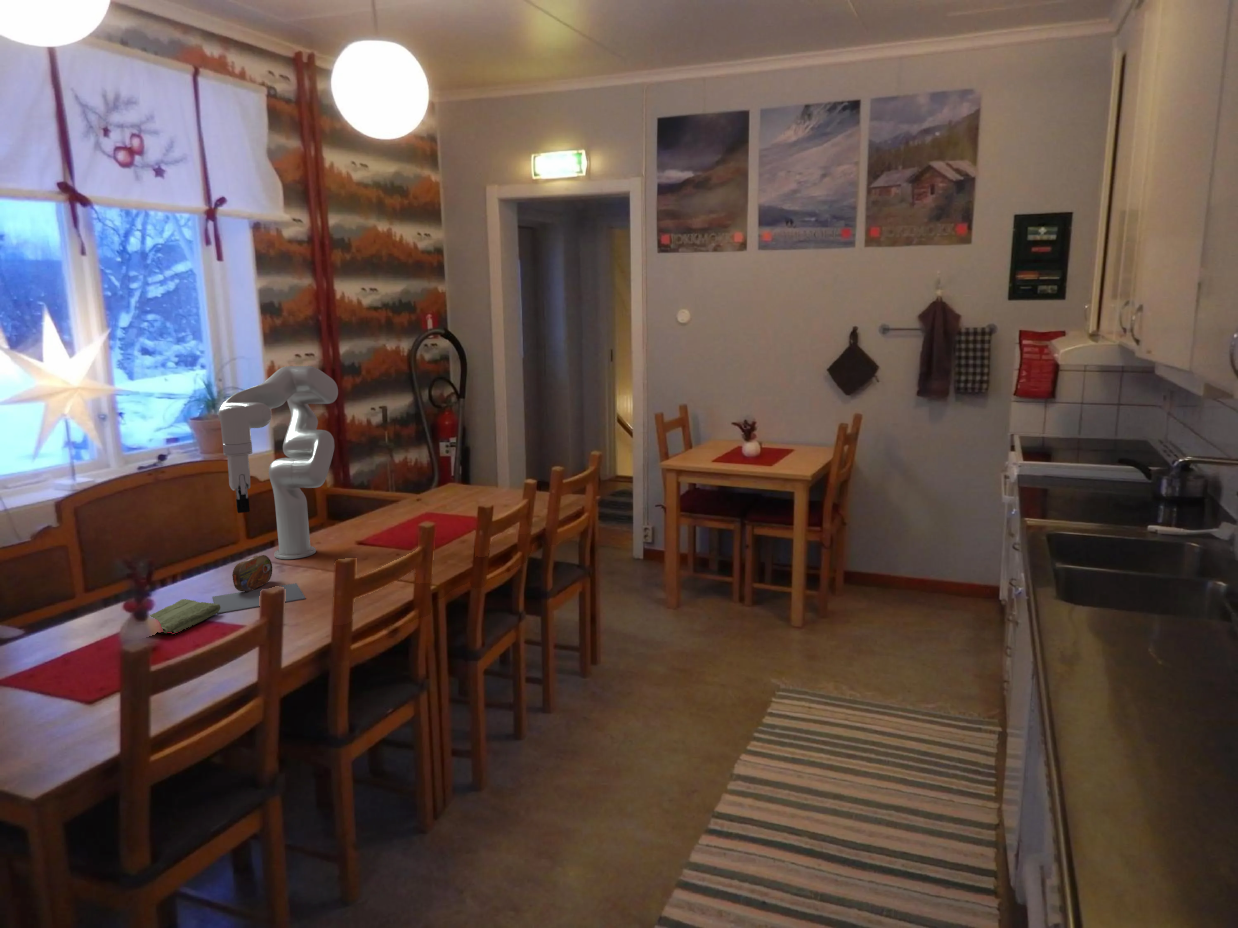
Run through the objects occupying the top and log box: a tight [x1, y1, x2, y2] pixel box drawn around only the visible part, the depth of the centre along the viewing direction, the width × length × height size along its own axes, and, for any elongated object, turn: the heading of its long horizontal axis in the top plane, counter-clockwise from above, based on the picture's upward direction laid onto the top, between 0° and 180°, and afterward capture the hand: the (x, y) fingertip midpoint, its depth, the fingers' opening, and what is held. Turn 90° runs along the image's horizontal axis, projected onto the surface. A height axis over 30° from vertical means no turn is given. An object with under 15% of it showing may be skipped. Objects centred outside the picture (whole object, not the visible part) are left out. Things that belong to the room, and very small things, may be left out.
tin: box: [231, 554, 273, 592], centre depth 240 cm, size 15×3×8 cm, turn 168°
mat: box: [211, 582, 307, 615], centre depth 232 cm, size 15×22×1 cm
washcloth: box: [149, 598, 221, 634], centre depth 214 cm, size 13×18×3 cm
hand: (243, 511), depth 244 cm, fingers closed
